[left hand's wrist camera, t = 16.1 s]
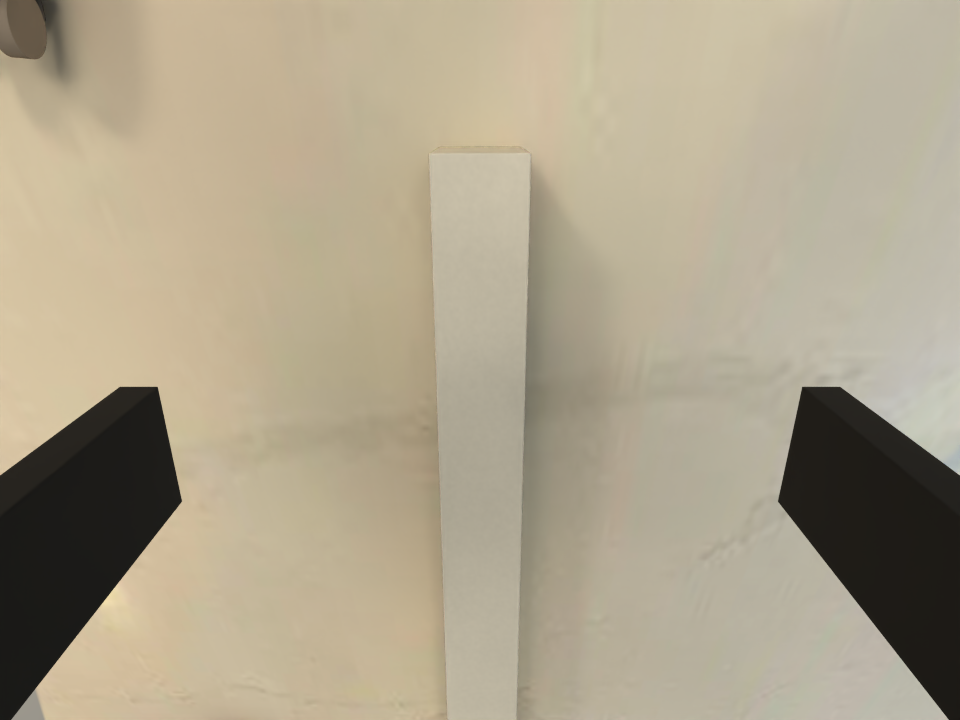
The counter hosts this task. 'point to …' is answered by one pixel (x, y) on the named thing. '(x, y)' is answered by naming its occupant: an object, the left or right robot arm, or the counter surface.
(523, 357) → the post
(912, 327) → the counter surface
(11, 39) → the black wheeled rover
